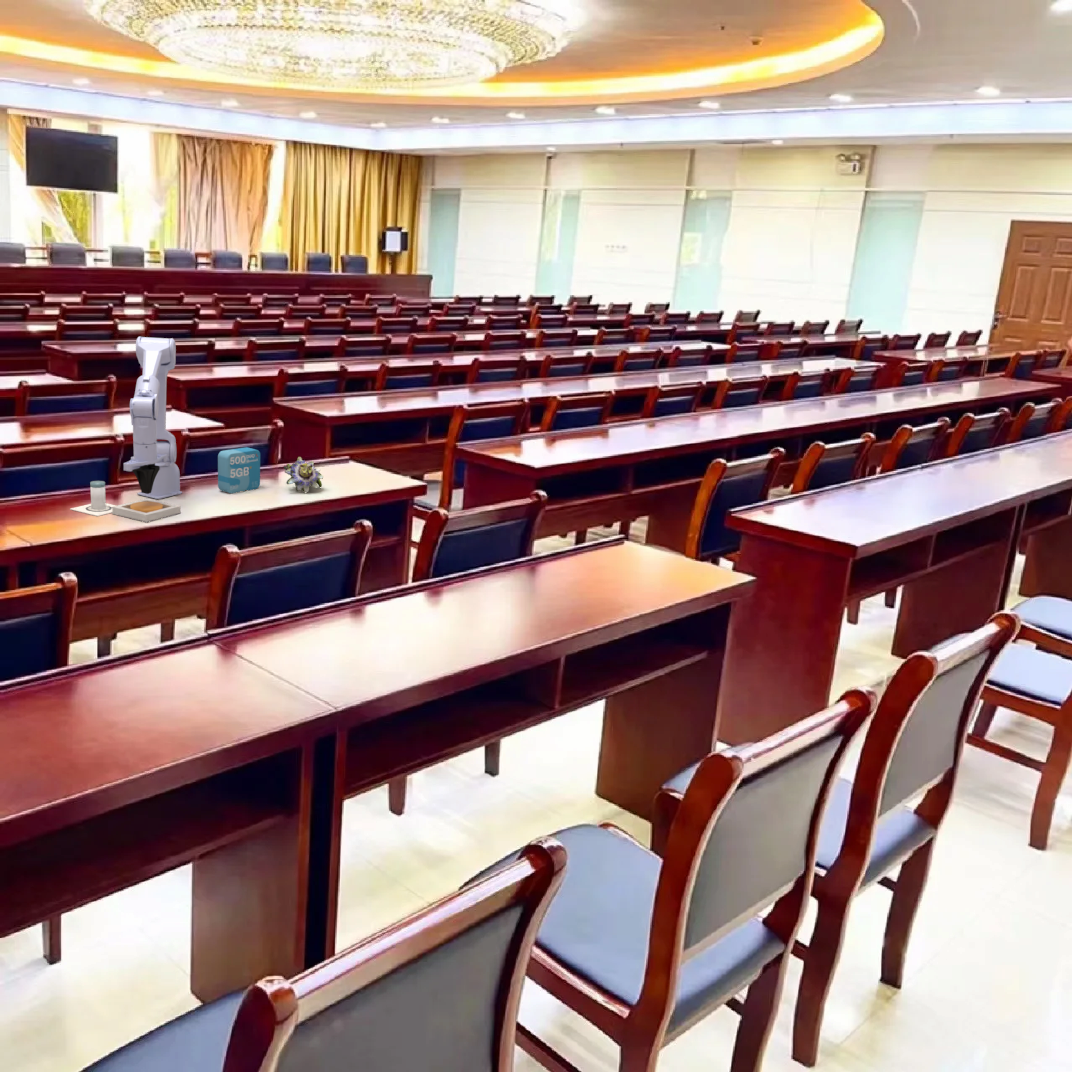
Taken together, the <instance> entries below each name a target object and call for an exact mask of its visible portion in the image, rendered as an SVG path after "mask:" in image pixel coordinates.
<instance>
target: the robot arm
mask: <svg viewBox="0 0 1072 1072" xmlns="http://www.w3.org/2000/svg"><path fill="white" fill-rule="evenodd" d="M176 348H177V347H176V340H175V339H174V338H173V337H172V338H167V337H166V338H164V337H150V336H149V337H148V336H146V337H145V336H138V337H137V338H136V341H135V355H136V358H137V360H138V364H140V367H141V368H142V375H140V376H139V377H138V378H137V379H136V384H135V389H134V390H135V391H134V395H133V398H130V401H129V413H130V420H131V422H130V424H131V426H132V439H133V441H132V442H133V443H132V444H133V456H131V457H130V460H128V461H126V462H123V471H126V472H133V474H134V476H135V477H136V479H137V482H138V484H139V488H140V491H139V492H137V495H138V496H142V497H146V498H150V499H154V500H155V499H156V500H161V499H166V498H169V497H172V496H177V495H180V494H181V495H182V493H183V491H182V490H181V482H180V481H181V474H180V469H179V467H178V465H177V464H176V462H177V443H176V442H177V441H176V437H175V435H174V434H173V433H171V431H169V430H167V428H166V425H167V424H166V423H167V422H166V421H167V382H168V381H167V379H168V374H169V371H171V370H174V369H175V367H176V362H177V361H176V353H177V352H176V351H177V349H176Z"/></svg>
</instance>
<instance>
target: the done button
mask: <svg viewBox="0 0 1072 1072" xmlns="http://www.w3.org/2000/svg"><path fill="white" fill-rule="evenodd" d="M130 508H131V509H132V510H137V511H141V512H145V513H148V512H152V511H156V510H160V509H163V505H162V504H161V503H157V502H137V503H133V504H131V505H130Z"/></svg>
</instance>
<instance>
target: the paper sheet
mask: <svg viewBox="0 0 1072 1072" xmlns="http://www.w3.org/2000/svg"><path fill="white" fill-rule="evenodd" d="M113 506H117V505H115V504H111V503H107V502H106V508H105V509H102V510H94V509H91V503H88V504H84V505H80V506H76V507H75V506H74V507H71V508H69V510H70V511H74V512H78V513H83V514H85V515H90V516H95V517H100V516H105V515H109V514H112V507H113Z"/></svg>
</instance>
